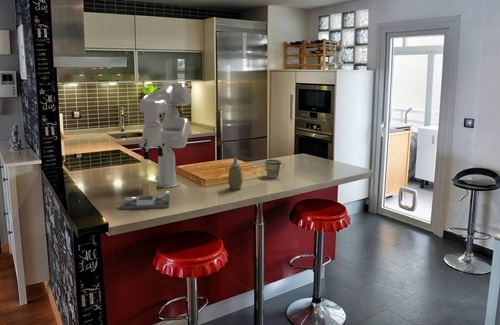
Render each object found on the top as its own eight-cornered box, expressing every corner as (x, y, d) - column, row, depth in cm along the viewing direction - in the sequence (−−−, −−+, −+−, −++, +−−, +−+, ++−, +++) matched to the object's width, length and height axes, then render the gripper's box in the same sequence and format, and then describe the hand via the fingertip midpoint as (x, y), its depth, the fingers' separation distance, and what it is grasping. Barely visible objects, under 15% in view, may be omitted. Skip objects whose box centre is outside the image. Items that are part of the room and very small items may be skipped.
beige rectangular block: (143, 196, 229) (142, 182, 228) (150, 194, 233) (149, 180, 232) (149, 198, 226) (148, 183, 225) (156, 196, 230) (156, 181, 229)
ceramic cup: (262, 177, 274) (262, 161, 272) (268, 173, 283) (269, 158, 281) (280, 179, 268) (281, 163, 266) (287, 176, 277) (287, 160, 275)
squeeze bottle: (242, 186, 251) (242, 156, 247) (242, 190, 243) (242, 159, 239) (228, 186, 250) (228, 156, 247) (228, 190, 242) (227, 158, 239)
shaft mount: (121, 209, 208) (121, 194, 206) (124, 203, 217) (123, 189, 215) (170, 207, 211) (169, 193, 210) (170, 202, 220) (170, 188, 219)
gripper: (159, 122, 231) (160, 154, 234) (133, 125, 217) (135, 159, 220) (169, 123, 227) (170, 156, 230) (144, 127, 213) (145, 161, 216)
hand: (153, 157), depth 225 cm, fingers open, 9 cm apart
